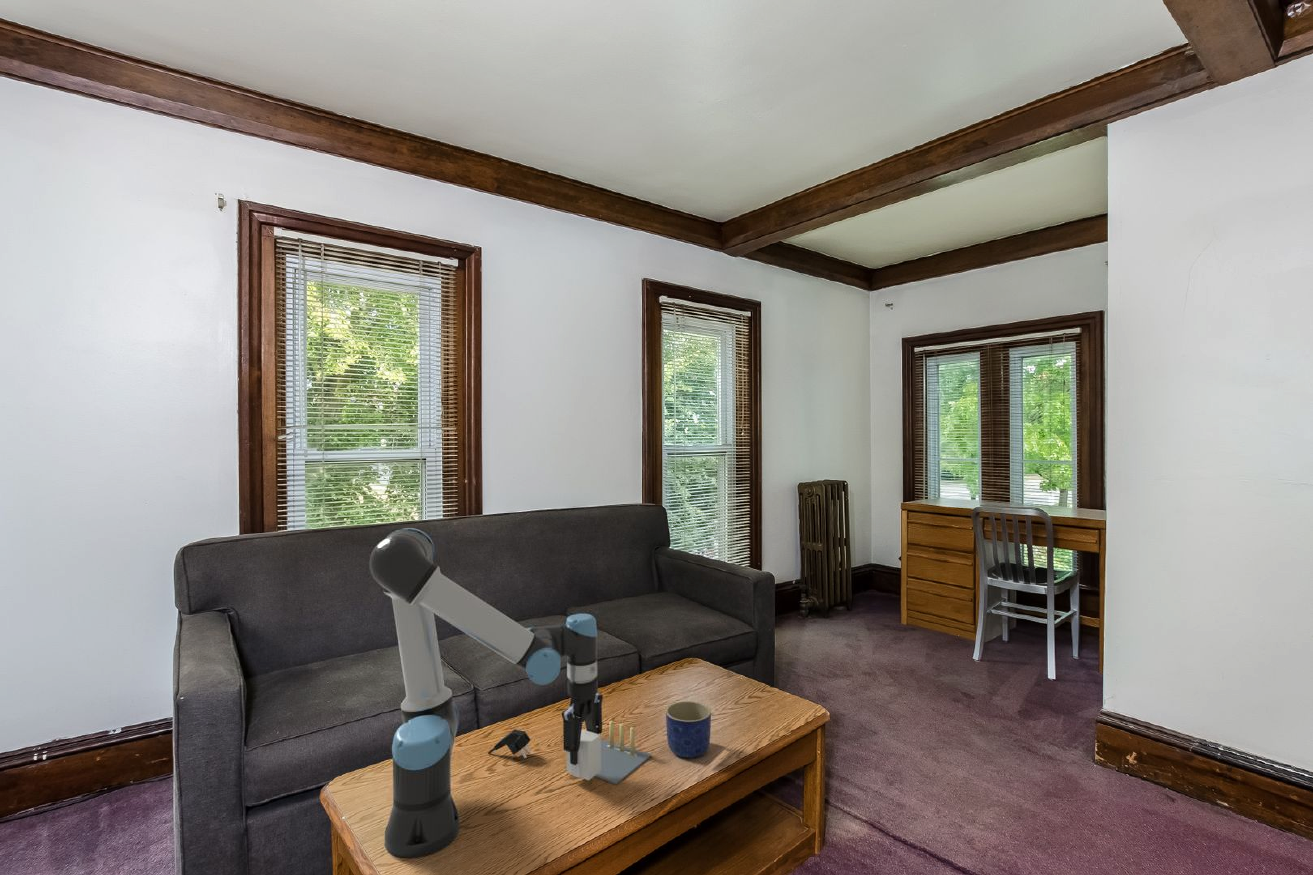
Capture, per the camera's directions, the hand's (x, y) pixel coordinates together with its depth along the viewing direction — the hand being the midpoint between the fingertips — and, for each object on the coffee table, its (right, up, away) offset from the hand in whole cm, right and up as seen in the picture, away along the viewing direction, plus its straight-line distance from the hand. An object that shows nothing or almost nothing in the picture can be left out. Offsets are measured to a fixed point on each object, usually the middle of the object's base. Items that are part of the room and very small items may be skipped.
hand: (583, 770), depth 153 cm
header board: (+6, -3, +9) cm, 11 cm away
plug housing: (0, 0, 0) cm, 0 cm away
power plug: (-26, -5, +13) cm, 29 cm away
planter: (+27, -3, +15) cm, 31 cm away
